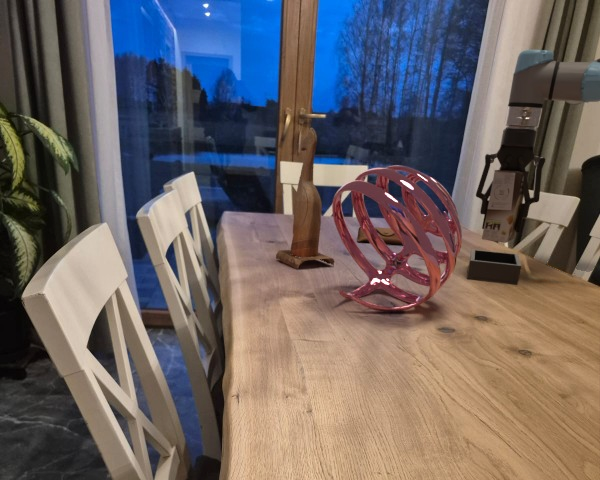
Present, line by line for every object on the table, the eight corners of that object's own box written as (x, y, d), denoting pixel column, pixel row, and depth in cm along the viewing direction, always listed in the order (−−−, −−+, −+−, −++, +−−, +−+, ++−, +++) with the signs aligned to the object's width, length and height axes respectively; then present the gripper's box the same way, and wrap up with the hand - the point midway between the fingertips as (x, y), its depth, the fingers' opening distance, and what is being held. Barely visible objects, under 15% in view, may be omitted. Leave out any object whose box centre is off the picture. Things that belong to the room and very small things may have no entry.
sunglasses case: (356, 240, 178) (358, 220, 178) (356, 248, 184) (358, 228, 185) (415, 245, 176) (417, 224, 177) (412, 253, 183) (414, 232, 184)
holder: (514, 271, 153) (518, 253, 151) (517, 284, 140) (521, 265, 138) (468, 266, 156) (471, 249, 154) (466, 278, 143) (470, 260, 141)
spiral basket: (330, 217, 94) (445, 120, 98) (273, 229, 119) (367, 151, 124) (414, 346, 105) (514, 254, 109) (345, 332, 130) (429, 258, 135)
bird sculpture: (309, 257, 156) (316, 127, 142) (335, 266, 148) (346, 129, 134) (274, 260, 151) (278, 125, 136) (299, 270, 142) (306, 127, 128)
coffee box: (507, 243, 139) (521, 172, 132) (480, 239, 142) (493, 170, 135) (515, 238, 146) (529, 170, 139) (490, 234, 149) (503, 168, 142)
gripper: (475, 125, 132) (458, 228, 142) (569, 131, 127) (544, 236, 137) (475, 125, 138) (459, 223, 148) (565, 130, 134) (541, 231, 144)
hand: (500, 229), depth 143 cm, fingers closed on coffee box, 7 cm apart
